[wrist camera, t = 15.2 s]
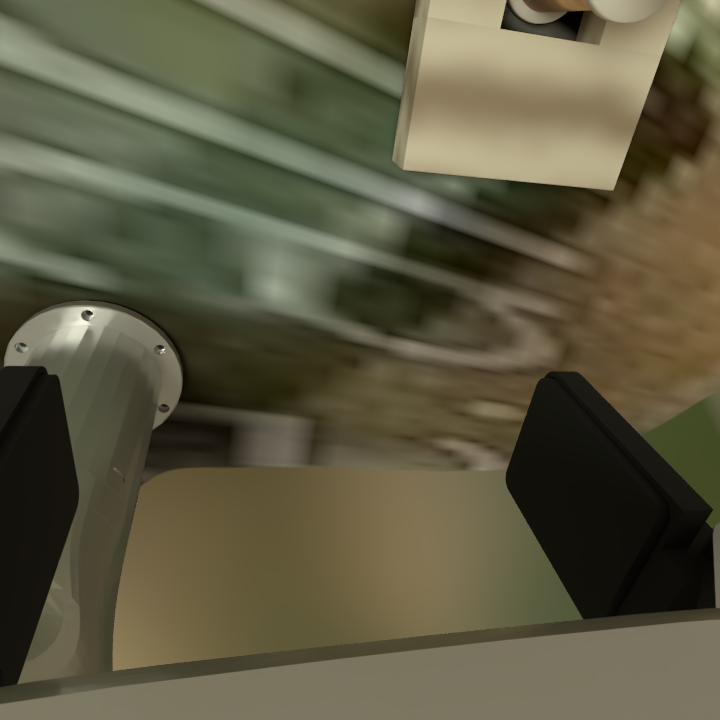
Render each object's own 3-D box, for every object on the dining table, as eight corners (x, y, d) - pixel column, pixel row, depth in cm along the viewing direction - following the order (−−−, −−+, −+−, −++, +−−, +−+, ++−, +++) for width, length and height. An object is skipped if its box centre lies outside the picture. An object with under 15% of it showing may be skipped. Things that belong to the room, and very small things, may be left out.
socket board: (590, 180, 42) (613, 190, 39) (392, 160, 38) (402, 169, 36) (692, -123, 33) (729, -136, 30) (444, -187, 29) (463, -208, 27)
